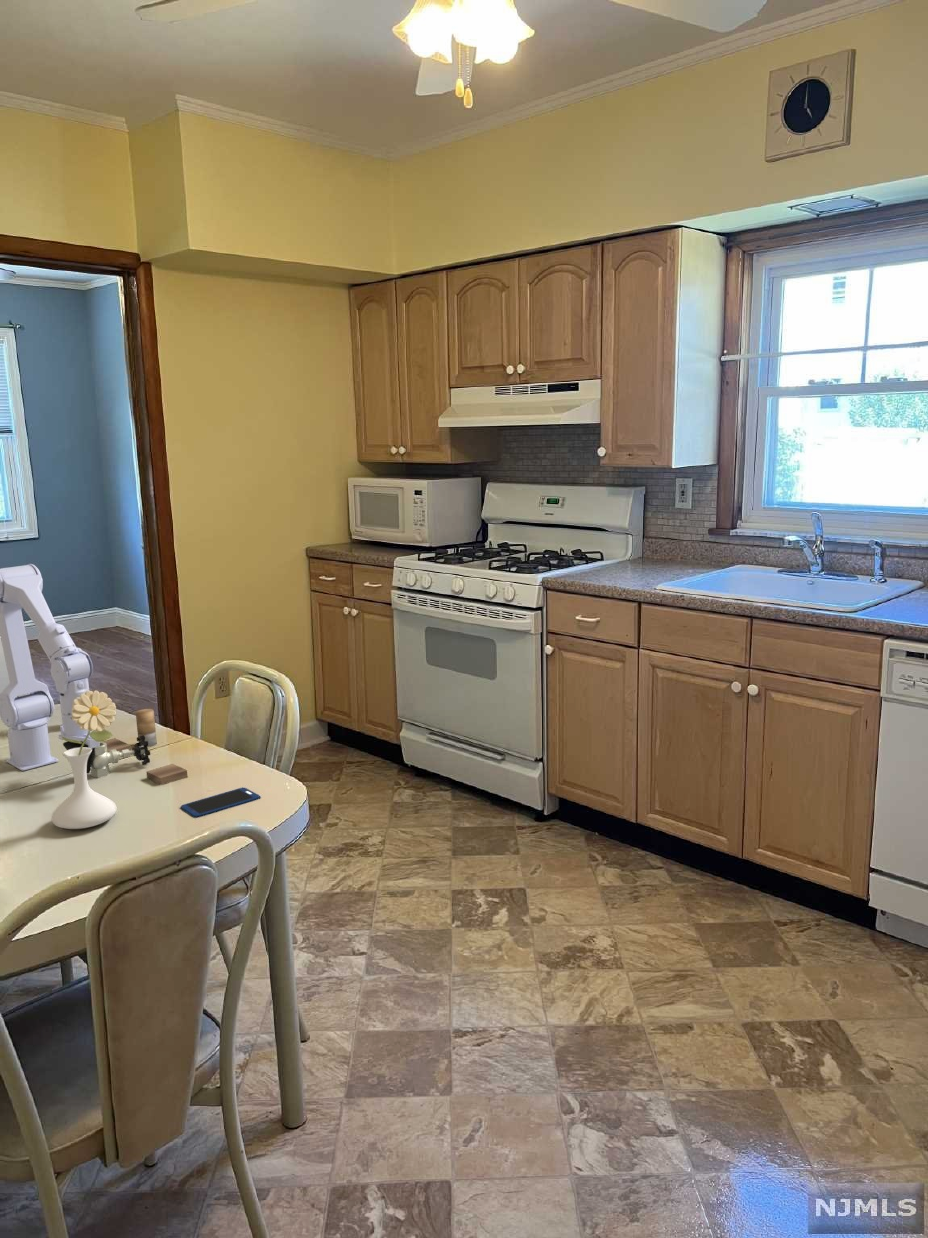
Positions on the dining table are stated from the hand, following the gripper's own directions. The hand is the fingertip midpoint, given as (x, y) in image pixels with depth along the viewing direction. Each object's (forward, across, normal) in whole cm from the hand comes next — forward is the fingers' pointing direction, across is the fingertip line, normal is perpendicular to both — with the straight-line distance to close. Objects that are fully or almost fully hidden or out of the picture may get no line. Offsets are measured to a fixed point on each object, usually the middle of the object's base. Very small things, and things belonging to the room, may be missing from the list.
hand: (83, 773), depth 193 cm
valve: (+2, 0, +8) cm, 8 cm away
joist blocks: (+1, 0, +12) cm, 12 cm away
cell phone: (+2, +33, +12) cm, 36 cm away
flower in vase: (+2, +22, -9) cm, 24 cm away
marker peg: (+1, -12, +20) cm, 23 cm away
